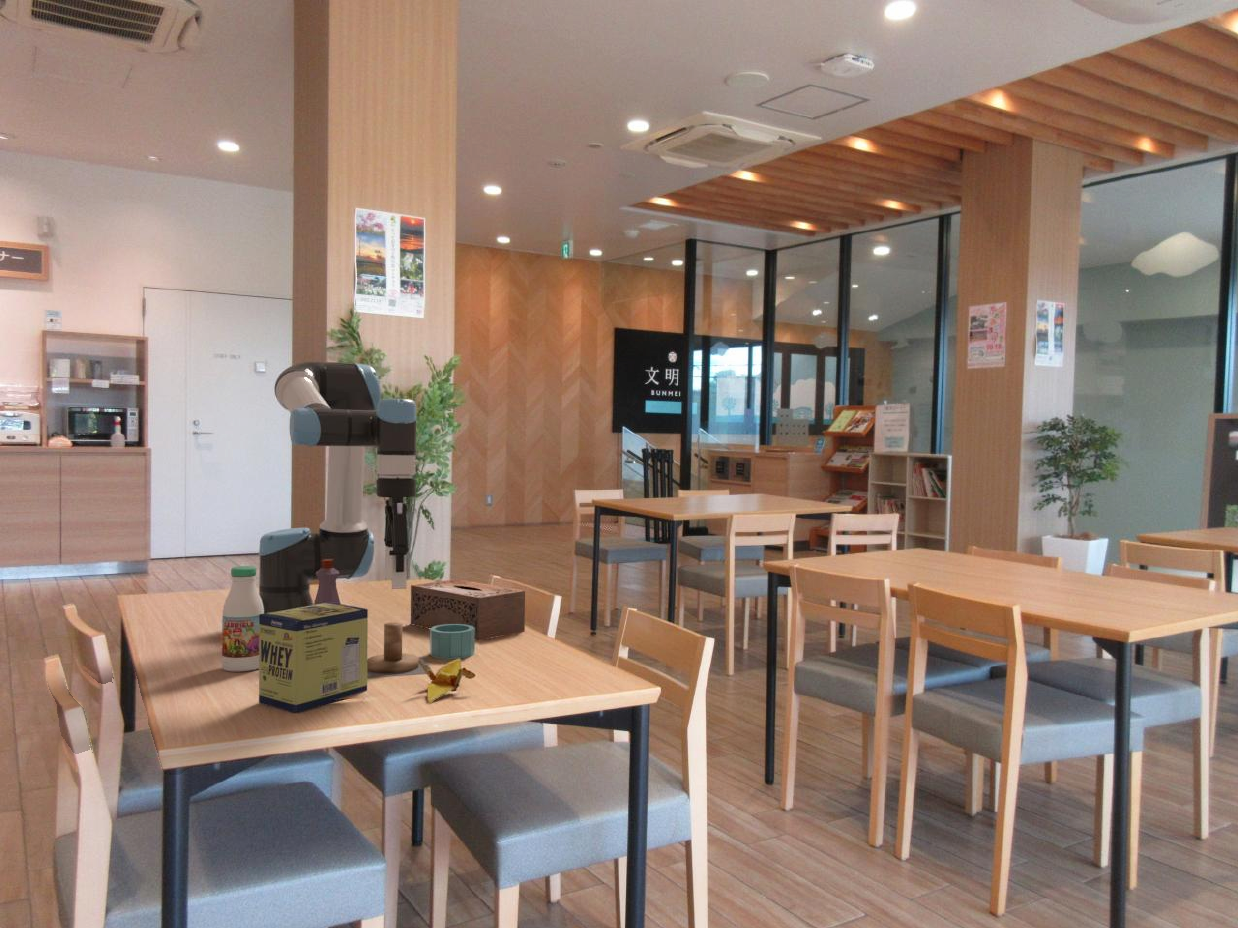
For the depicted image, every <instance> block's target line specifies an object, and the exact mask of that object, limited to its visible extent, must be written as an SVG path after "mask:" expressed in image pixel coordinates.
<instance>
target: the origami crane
mask: <svg viewBox="0 0 1238 928" xmlns="http://www.w3.org/2000/svg"><path fill="white" fill-rule="evenodd" d="M461 659H462V658H459V659H452V661H449V662H447V663H446V664H444V665H442V666H441V667H440V668H439V669H438V670H437V671H436V672H435V673H434V671H433V670H432V669H431V670H432V671H433V672H432V671H431V670H429V669H430V668H431V667H430V668H428V667H429V666H430V665H429V666H428V665H427V664H424V663H423V661H422V660H421V659H419V663H420V665H421V666H422V667H423V670H424V671H425V674H424V675H427V677H428V678H429V679H430V680H431V682H430V683H428V684H427V705H430V704H432V703H433V702H435V700H438V699H439V698H440V697H442V696H444V695H445V694H446V693H449V692H451V691H454V692H455V691H456V690H455V689H457V688H458V687H459V686H460V685H459V684H460V682H461V679H462V678H463V677H464V676H465V677H464V678H466V679H471V680H472V679H474V678H475V677H476V674H475V673H474V672H473V671H471V670H469V669H467V668H466V667H462V660H461ZM426 661H427V660H426ZM426 661H425V662H426ZM426 663H428V661H427V662H426Z"/></svg>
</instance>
